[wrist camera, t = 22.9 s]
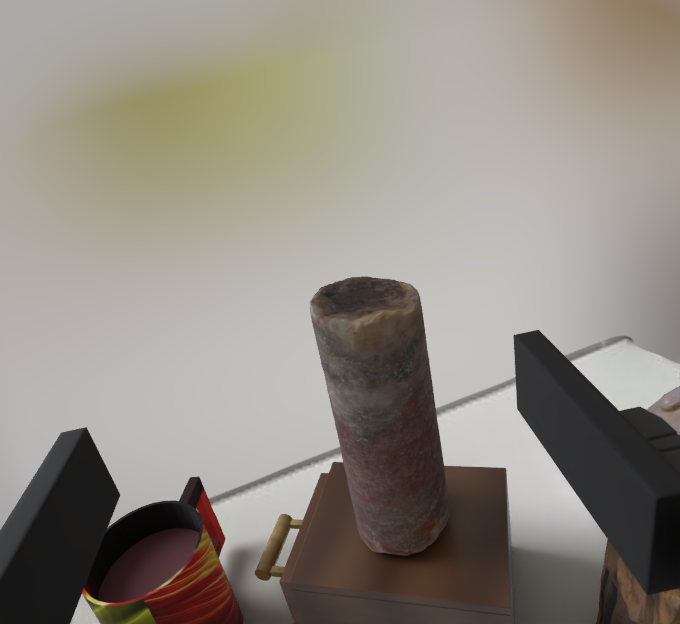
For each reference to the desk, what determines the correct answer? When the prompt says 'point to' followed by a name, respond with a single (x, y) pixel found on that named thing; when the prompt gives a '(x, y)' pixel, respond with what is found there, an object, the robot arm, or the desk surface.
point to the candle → (383, 410)
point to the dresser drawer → (276, 545)
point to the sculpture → (617, 581)
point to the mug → (163, 566)
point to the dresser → (410, 561)
